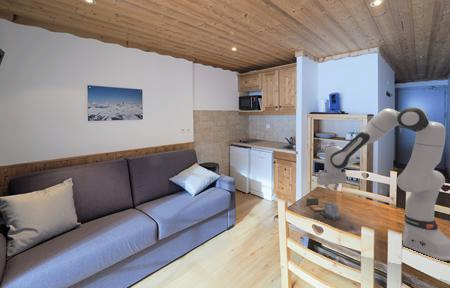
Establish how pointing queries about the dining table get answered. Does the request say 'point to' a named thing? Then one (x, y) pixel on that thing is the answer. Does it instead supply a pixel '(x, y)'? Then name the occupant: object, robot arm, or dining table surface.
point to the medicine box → (331, 209)
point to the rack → (314, 202)
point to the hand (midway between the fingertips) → (331, 190)
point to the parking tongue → (329, 216)
